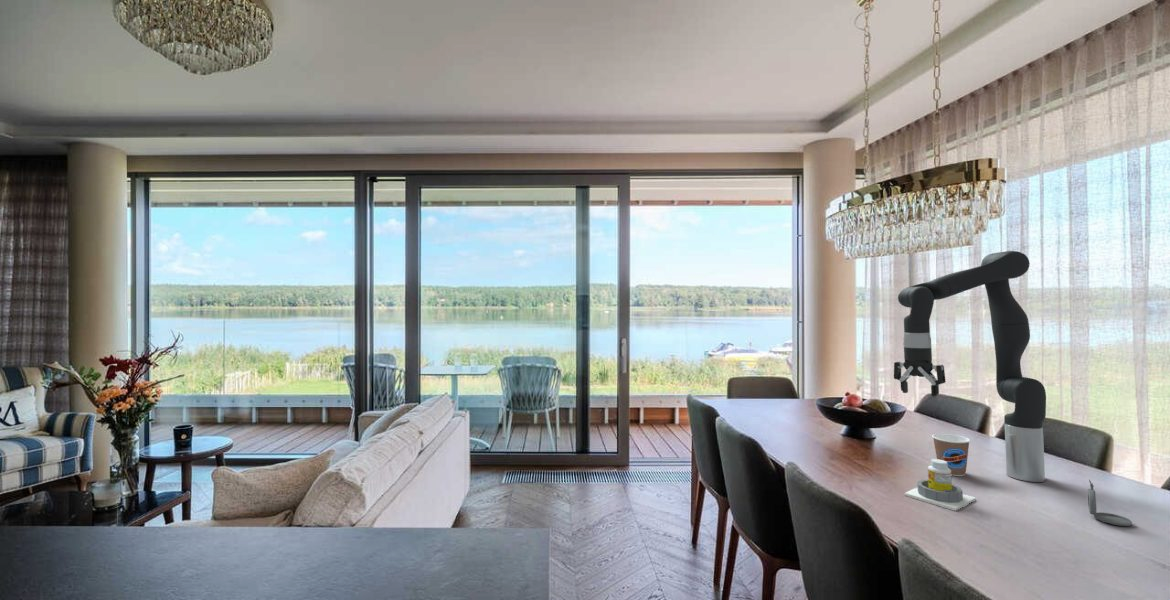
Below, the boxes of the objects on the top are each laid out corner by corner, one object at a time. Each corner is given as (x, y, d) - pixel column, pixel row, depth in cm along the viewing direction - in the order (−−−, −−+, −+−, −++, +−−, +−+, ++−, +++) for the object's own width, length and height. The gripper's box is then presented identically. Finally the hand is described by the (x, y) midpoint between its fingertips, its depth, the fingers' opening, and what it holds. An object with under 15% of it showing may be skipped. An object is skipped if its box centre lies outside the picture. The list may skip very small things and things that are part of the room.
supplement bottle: (929, 490, 142) (928, 456, 142) (952, 494, 138) (951, 460, 138) (927, 495, 137) (926, 461, 137) (951, 500, 134) (950, 465, 134)
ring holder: (925, 486, 147) (924, 475, 147) (975, 500, 135) (975, 488, 135) (904, 495, 140) (904, 483, 140) (956, 511, 129) (955, 498, 129)
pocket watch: (1140, 528, 117) (1138, 489, 117) (1100, 526, 118) (1099, 487, 118) (1110, 514, 125) (1108, 477, 125) (1073, 512, 126) (1072, 475, 127)
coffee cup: (939, 476, 155) (937, 440, 155) (929, 466, 164) (927, 432, 164) (977, 479, 151) (975, 443, 151) (964, 469, 160) (963, 434, 161)
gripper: (947, 346, 149) (949, 396, 149) (899, 344, 162) (901, 390, 161) (937, 348, 146) (939, 399, 145) (888, 345, 158) (890, 392, 158)
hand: (919, 394), depth 153 cm, fingers open, 8 cm apart
